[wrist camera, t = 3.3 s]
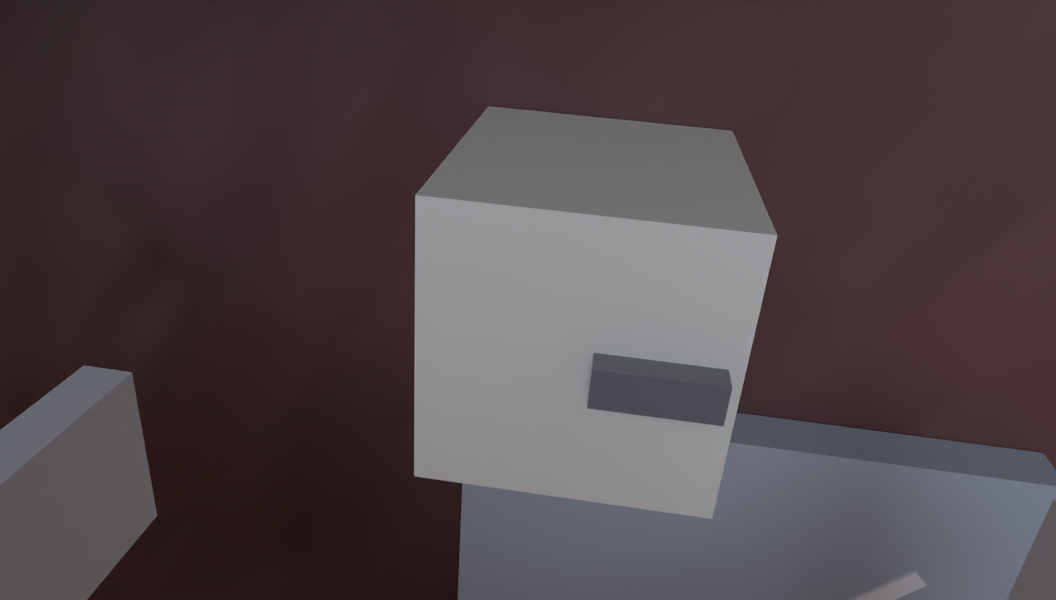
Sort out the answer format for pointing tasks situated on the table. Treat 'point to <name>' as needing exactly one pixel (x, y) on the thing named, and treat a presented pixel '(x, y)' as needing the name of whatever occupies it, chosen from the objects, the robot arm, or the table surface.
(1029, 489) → the plate
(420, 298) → the white box
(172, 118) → the table surface
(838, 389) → the table surface
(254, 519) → the table surface
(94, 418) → the robot arm
